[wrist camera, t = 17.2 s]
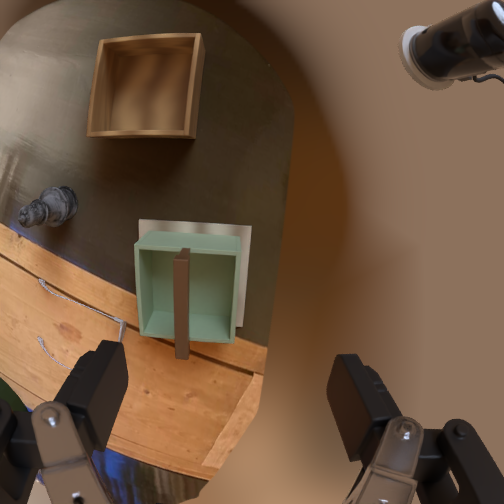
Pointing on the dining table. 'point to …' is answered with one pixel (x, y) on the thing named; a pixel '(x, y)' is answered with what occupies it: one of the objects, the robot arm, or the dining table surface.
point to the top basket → (187, 287)
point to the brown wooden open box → (147, 87)
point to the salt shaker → (50, 208)
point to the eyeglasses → (122, 324)
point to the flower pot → (11, 397)
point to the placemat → (215, 230)
